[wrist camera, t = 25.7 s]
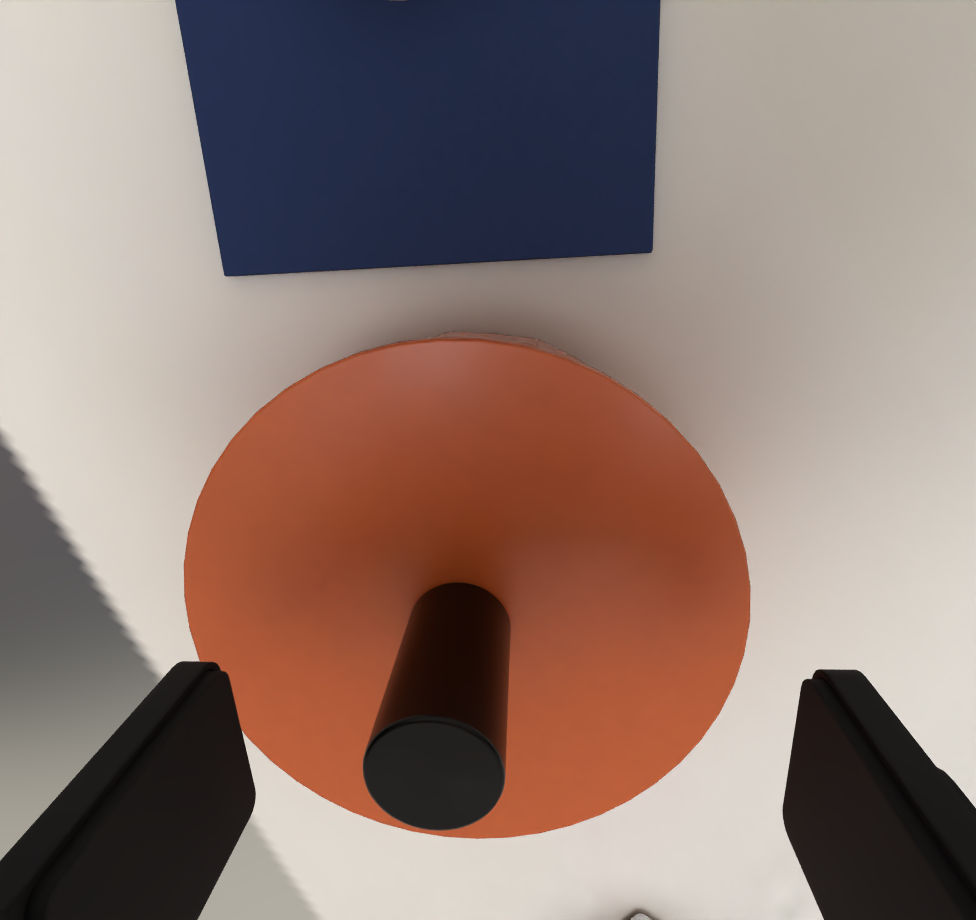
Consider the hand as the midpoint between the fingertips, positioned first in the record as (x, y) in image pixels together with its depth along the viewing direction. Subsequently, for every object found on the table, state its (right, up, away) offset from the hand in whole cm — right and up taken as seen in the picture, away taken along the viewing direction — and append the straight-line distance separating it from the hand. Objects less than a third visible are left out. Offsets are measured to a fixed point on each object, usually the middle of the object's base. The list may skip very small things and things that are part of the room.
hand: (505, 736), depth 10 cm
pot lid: (-1, +1, +5) cm, 5 cm away
